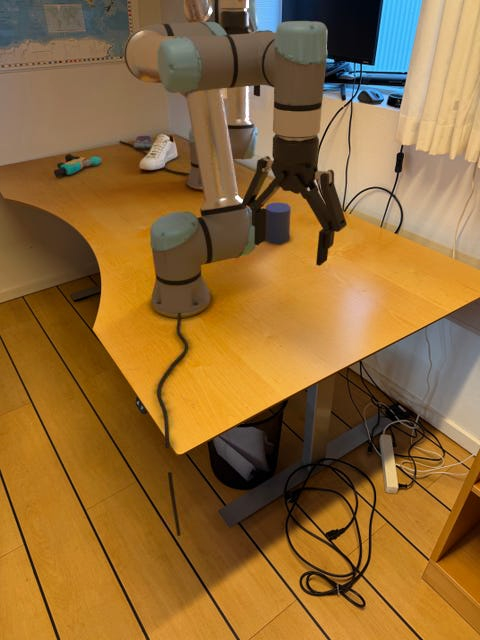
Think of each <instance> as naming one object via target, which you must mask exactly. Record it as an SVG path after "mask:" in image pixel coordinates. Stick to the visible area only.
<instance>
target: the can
mask: <svg viewBox="0 0 480 640" xmlns="http://www.w3.org/2000/svg"><path fill="white" fill-rule="evenodd" d="M265 209H266V240H265V241H266V242H267V243H269V244H272V245H283V244H286V243H288V241H290V229H291V213H292V211H291V210H292V208H291V205H289V204H288V203H284V202H270V203H268V204H266V205H265Z"/></svg>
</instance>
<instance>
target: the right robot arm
mask: <svg viewBox="0 0 480 640" xmlns="http://www.w3.org/2000/svg"><path fill="white" fill-rule="evenodd" d="M183 13H184V15H185V17H186V20H187V21H188V23H190V22H198V21H203V22H215V23H218V24H219V25H220V26H221V27H222V28H223V29H224V30H225V32H226V34H227V35H235V34H250V33H252V32H254V31H259V24H258V23H259V22H258V13H257V4H256V0H183ZM253 96H255V97H261V85H257V86H253ZM226 101H227V102H226V104H227V105H226V106H227V109H226V110H227V117H226V119H227V126H228V132H229V138H230V144H231V151H232V157H233V160H252V159H253V158H254V157H255V154H256V149H257V141H258V133H259V131H258V130H259V129H258V127H257V126H255V122H254V121H253V119H252V118H251V86H247V87H236V88H226ZM119 144H124V145H127V146H129V147H132V148H134V146H133V145H134V144H131V143H129V142H127V141H122V140H119ZM188 145H189V158H190V160H189V161H190V167H189V168H190V169H189V172H184V171H179V170H173V169H171V168H168V167H165V166H164V167H162V168H161V169H163V170H165V171H167V172H170V173H173V174H178V175H184V176H187V187H188V188H189V189H191V190H193V191H196V192H197V191H199V192H203V189H202V183H201V177H200V172H199V166H198V160H197V155H196V149H195V143H194V138H193V132H192V127H191V128H190V129H189V131H188ZM136 150H138V151H140V152H141V153H142V154H144V155H145V156H146V155H147V154H148V153H147V152H146V151H145V150H144V149H140V148H137V149H136Z"/></svg>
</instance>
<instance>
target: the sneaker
mask: <svg viewBox="0 0 480 640" xmlns="http://www.w3.org/2000/svg"><path fill="white" fill-rule="evenodd" d="M153 142H154V144H153V146H152V148H151V149H150V150H148V153H147V155H145V156H144V157H143V158H142V159H141V160H140V162H139V169H141V170H144V171H156V170H160V169H163V168H162V167H165V166H166V164H167V163H168V162H170V161H172V160H175V159H176V158H177V157H178V156H179V155H178V149H177V144H176V140H175V136H174V135H173V134H164V133H161V134H158V135H157V137H156V139H155V140H154V141H153Z"/></svg>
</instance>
